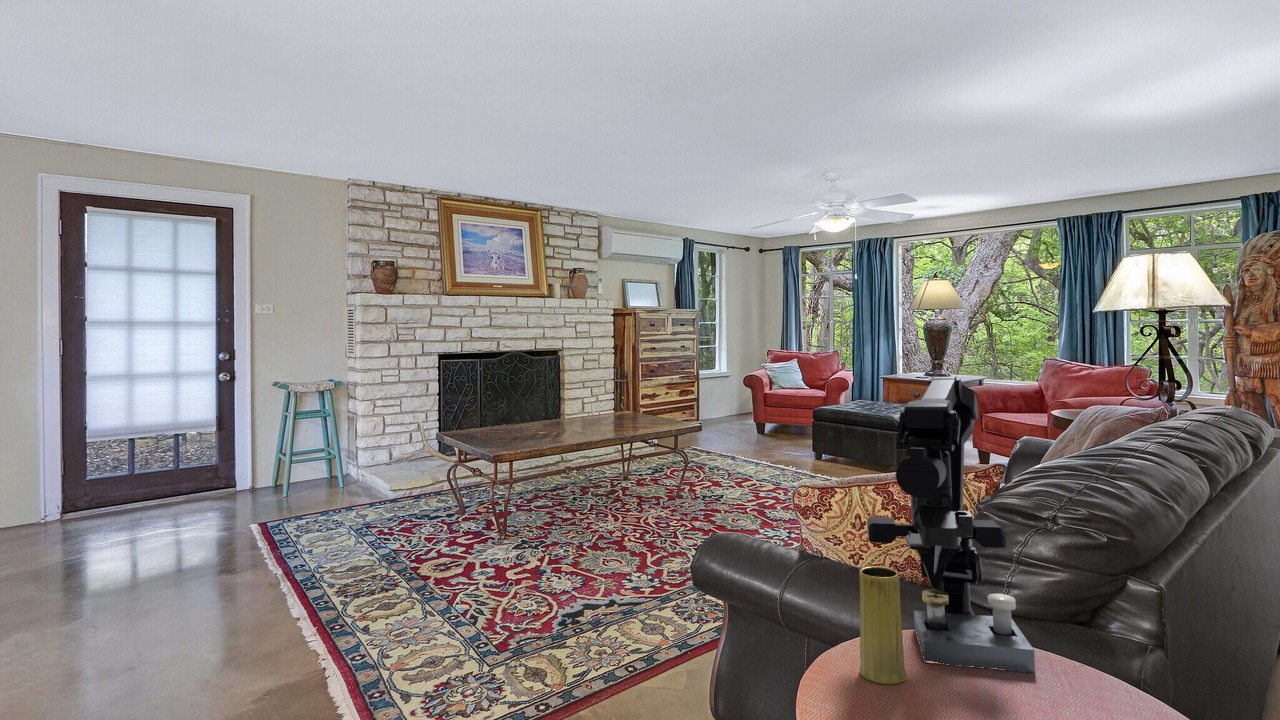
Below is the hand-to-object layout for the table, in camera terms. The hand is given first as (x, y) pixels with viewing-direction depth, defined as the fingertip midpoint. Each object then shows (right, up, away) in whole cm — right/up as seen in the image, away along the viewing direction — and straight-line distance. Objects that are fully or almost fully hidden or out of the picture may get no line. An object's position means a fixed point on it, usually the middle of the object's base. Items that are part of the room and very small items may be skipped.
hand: (935, 588), depth 98 cm
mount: (+5, -9, -2) cm, 10 cm away
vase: (-11, -9, -8) cm, 17 cm away
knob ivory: (+9, -6, -3) cm, 11 cm away
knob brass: (0, -6, 0) cm, 6 cm away
